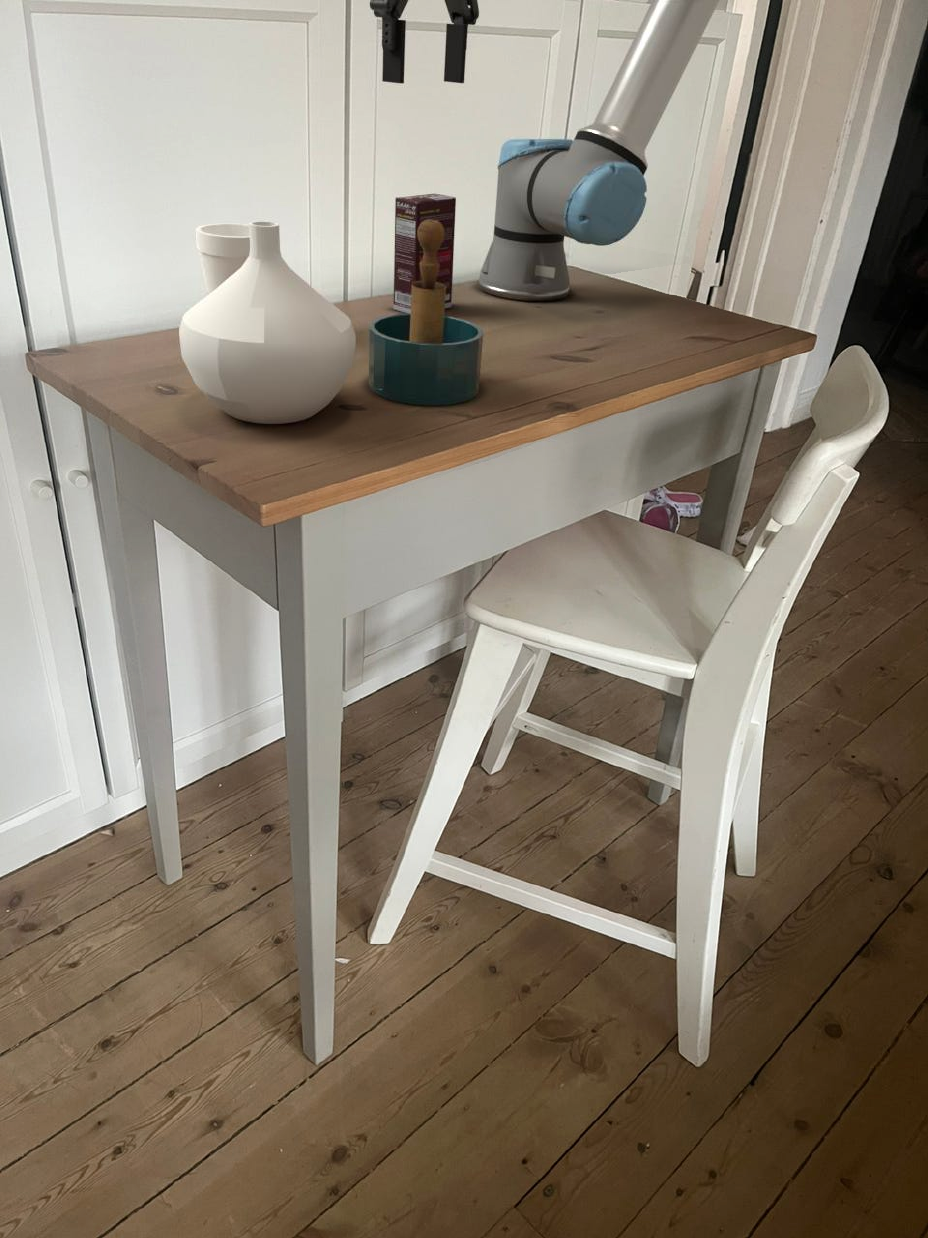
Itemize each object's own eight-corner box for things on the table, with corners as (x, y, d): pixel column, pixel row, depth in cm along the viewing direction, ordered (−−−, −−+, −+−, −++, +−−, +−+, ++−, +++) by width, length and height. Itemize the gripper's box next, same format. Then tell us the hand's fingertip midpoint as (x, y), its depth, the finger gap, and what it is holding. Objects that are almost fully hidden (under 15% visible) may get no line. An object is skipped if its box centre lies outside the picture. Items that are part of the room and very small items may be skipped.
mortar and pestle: (444, 392, 111) (453, 228, 101) (390, 384, 111) (395, 221, 102) (455, 375, 116) (466, 218, 107) (404, 368, 117) (410, 212, 107)
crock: (410, 362, 122) (412, 307, 118) (498, 386, 116) (503, 328, 112) (346, 387, 112) (346, 327, 108) (438, 414, 106) (442, 352, 103)
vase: (158, 395, 105) (138, 211, 95) (303, 373, 115) (300, 204, 105) (231, 452, 93) (218, 248, 83) (386, 421, 103) (392, 236, 93)
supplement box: (429, 301, 149) (434, 192, 141) (452, 308, 147) (458, 197, 138) (390, 309, 143) (393, 196, 135) (413, 316, 141) (418, 201, 132)
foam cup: (190, 336, 125) (182, 231, 118) (222, 319, 133) (215, 220, 126) (257, 345, 123) (252, 240, 116) (285, 328, 131) (282, 228, 124)
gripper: (463, -114, 119) (453, 79, 131) (339, -149, 101) (339, 79, 112) (515, -113, 116) (499, 84, 128) (395, -150, 98) (390, 85, 109)
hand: (424, 82), depth 120 cm, fingers open, 13 cm apart
